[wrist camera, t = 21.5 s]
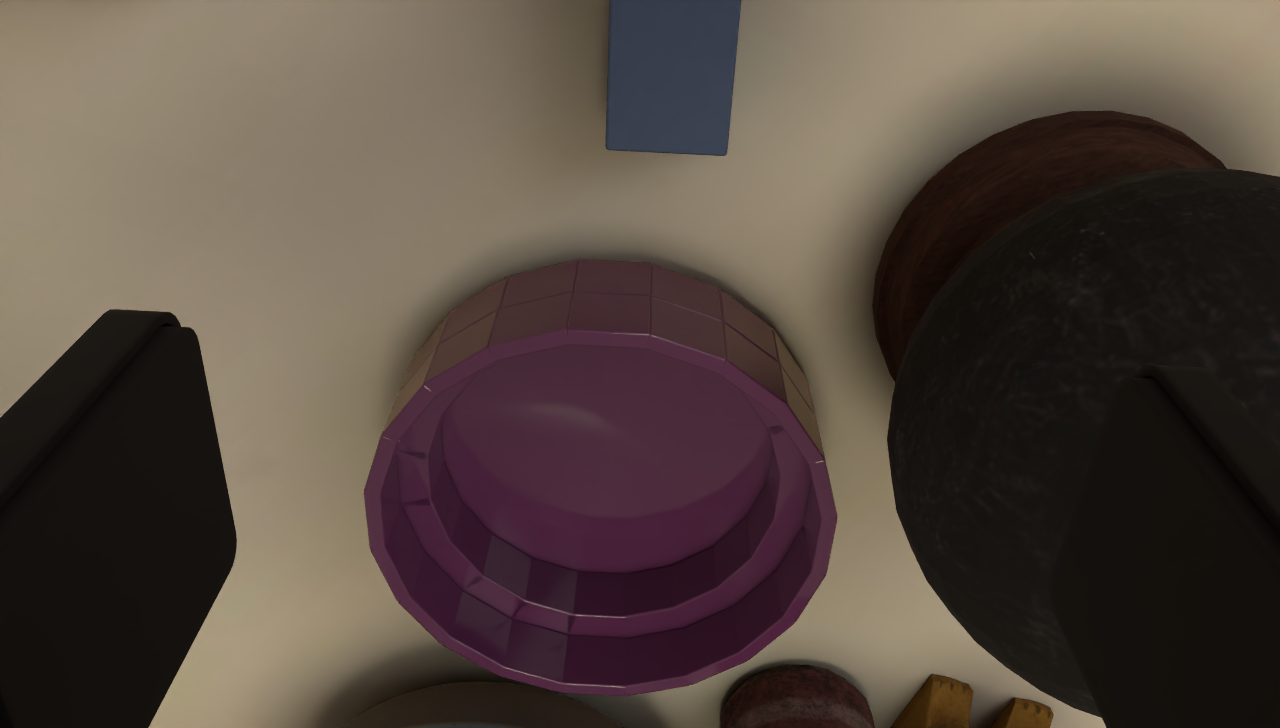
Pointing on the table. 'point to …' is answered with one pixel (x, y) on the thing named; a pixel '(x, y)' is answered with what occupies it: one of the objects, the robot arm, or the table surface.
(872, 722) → the can
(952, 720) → the figurine
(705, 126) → the blue block
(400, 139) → the table surface
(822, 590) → the table surface
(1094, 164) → the black crystal ball
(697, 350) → the bowl
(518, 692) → the vase
